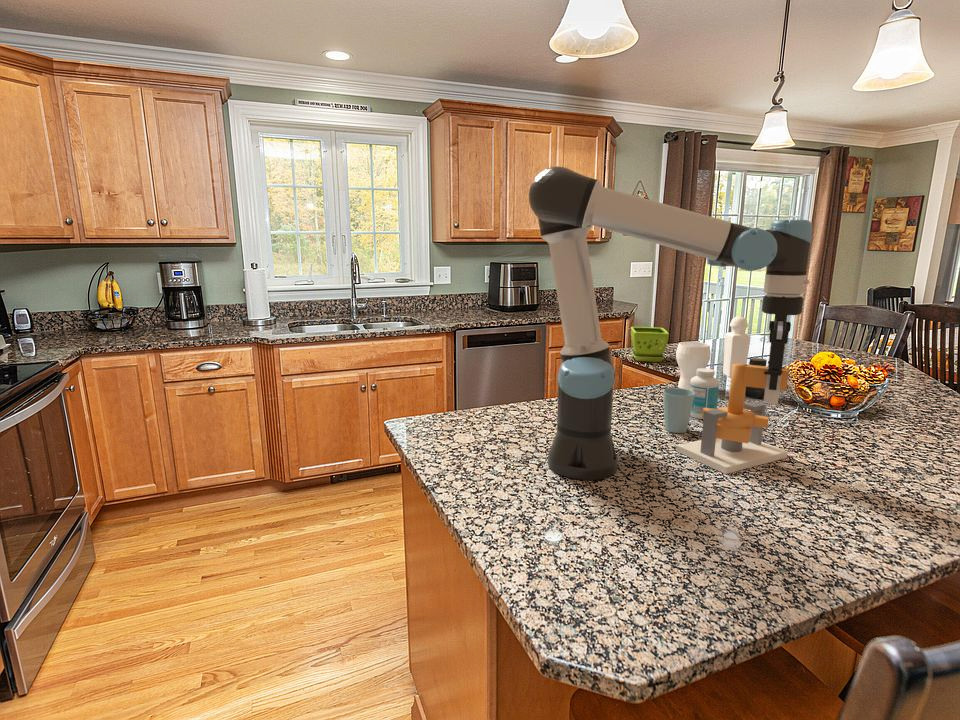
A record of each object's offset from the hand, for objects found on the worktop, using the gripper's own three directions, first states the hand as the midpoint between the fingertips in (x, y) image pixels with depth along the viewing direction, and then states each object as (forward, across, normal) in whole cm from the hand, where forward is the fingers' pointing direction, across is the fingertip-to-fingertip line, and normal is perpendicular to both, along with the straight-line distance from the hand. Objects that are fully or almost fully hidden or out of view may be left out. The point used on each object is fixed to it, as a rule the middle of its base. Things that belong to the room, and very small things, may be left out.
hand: (770, 401), depth 118 cm
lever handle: (+9, 0, +5) cm, 11 cm away
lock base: (+14, 0, +7) cm, 16 cm away
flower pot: (+14, +94, +45) cm, 105 cm away
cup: (+14, +12, +21) cm, 28 cm away
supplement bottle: (+14, +56, +4) cm, 58 cm away
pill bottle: (+14, +27, +16) cm, 34 cm away
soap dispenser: (+14, +81, +11) cm, 83 cm away
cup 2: (+14, +56, +23) cm, 63 cm away
